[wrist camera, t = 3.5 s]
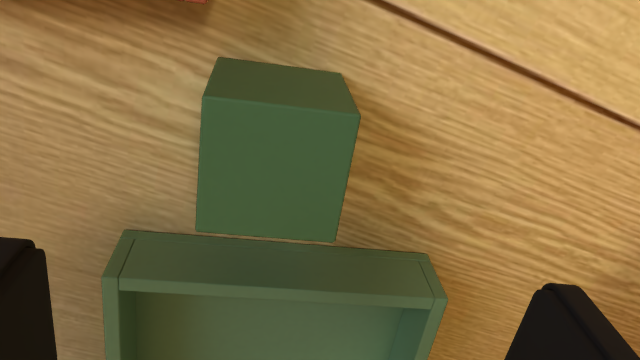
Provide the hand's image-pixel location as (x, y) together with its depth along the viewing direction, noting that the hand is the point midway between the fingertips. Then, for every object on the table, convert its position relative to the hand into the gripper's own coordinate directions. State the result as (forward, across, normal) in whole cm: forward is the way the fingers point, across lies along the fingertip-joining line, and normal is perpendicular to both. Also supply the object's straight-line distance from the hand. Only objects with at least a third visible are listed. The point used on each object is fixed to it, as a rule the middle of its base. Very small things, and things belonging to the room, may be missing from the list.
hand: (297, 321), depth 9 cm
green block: (+10, +1, 0) cm, 11 cm away
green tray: (+10, 0, +11) cm, 15 cm away
